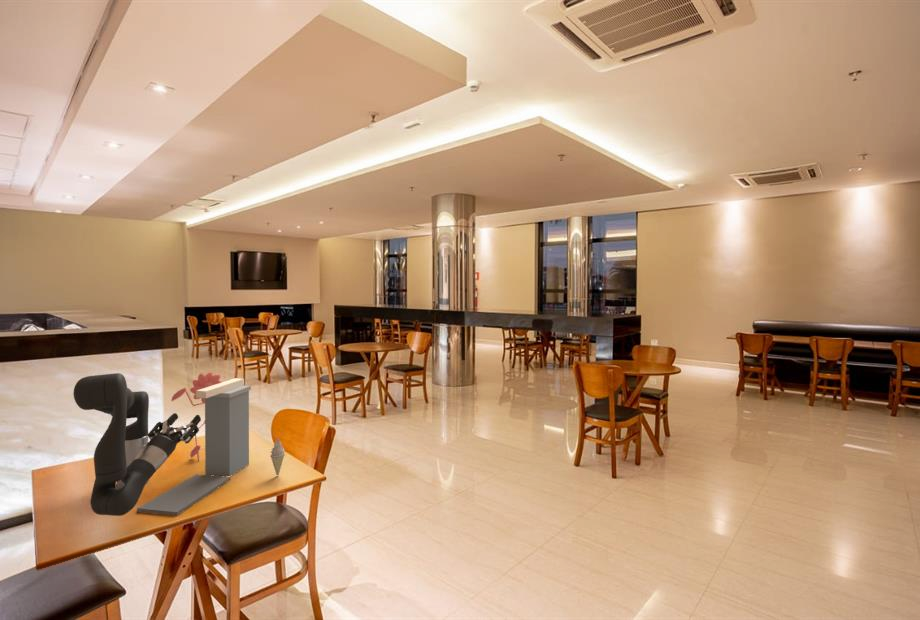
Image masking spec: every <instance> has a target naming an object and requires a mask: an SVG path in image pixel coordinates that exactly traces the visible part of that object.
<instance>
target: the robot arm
mask: <svg viewBox="0 0 920 620" xmlns="http://www.w3.org/2000/svg"><path fill="white" fill-rule="evenodd" d="M72 394H73V399H74V402H75V403H76V406H78V407H79V408H80V409H81V410H84V411H90V410H94V411H98V412H101V413H104V414H107V415H109V416H111V420H110V423H109V425H108V426H107V429H106V430H105V432H104V434H103V435H101V438H100V440H99V441H98V443H97V445H96V447H95V450H94V453H93V465H94V466H93V467H94V475H95V479H94V482H93V486H92V491H91V496H90V501H89V502H90V503H89V504H90V507H91V509H92V512H93V513H94V514H97V515H99V516H116V517H119V516H121V517H122V516H124V515H126V514H128V513H129V512H130V511H132V510H133V509H134V507H135V506H136V505H137V503H138V501H139V499H140V498H141V497H140V496H141V494H142V492H143V491H144V488H145V486H146V484H147V483H148V482H149V480H151V478H152V477H153V475H154V474H155V473H156V472H157V471H158V470H159V469H160V468H161V467H162V466H163V465H164V464H165V462H167V460H168V459H169V457H170V456H171V455H172V454H173V452H174V451H175V450H176V447H177V445H178V443H181V442H184V443H185V444H186V445H187V444H189V443H190V442H191V441H192V440H193V438H195V435H196V436H197V434H198V433H199V432H200V428H199V427H198V425H199V423H201V421H202V419H201V416H200V414H196V415H195V416H194V417H193V419H192V420H191V421H190V423H188V424H185V425H181V426H179V427H173V425H174V423H175V422H176V421H177V420H178V419H179V415H178V414H177V412H174V413H172V414H171V415H170V416H169V417H168V418H167V419H166V420H164V421H159V422H157V423H156V424H155V425H154V426H153V427H152V429H150V431H149V406H150V400H149V399H150V398H149V394H148V392H146V391H145V390H142V391H132V390H131V389H130V388H129V387H128V384H127V380H126V377H125V376H124V375H123V374H122V373H119V372H117V373H105V374H97V375H87V376H84V377H82V378H80V379H79V380H78V381H77V382H76V383H75V386H74V388H73V393H72ZM127 419H136V420H135V421H134V422H131V423H130V424H128V425H127ZM198 428H199V429H198ZM183 431H184V432H183Z"/></svg>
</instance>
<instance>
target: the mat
mask: <svg viewBox="0 0 920 620" xmlns="http://www.w3.org/2000/svg"><path fill="white" fill-rule="evenodd" d="M229 480H230V481H231V477H222V476H211V475H205V474H198V473H195V474H194V475H192V476H191V477H189V478H187V479H185V480H184V481H182V482H180V483H178V484H176V485H175V486H173V487H171V488H169V489H168V490H166V491H164V492H162V493H161V494H159V495H157V496H155V497H154V498H152V499H151V500H149V501H147V502H145V503H144V504H142V505H140V506H138V507H137V508H136V512H137V513H143V512H146V513H145V514H153V513H156V514H155V515H163V514H164V515H165V516H173V515H176V516H175V517H178V516H179V515H181V514H182V513H184V512H185V511H186V509H187V508H188V509H190V508H191V507H193V506H194V505H196V504H197V503H199V502H200V501H202V500H203V499H205V498H206V497H208V496H209V495H211V494H212V493H214V492H215V491H217V490H218V489H219V488H218V487H220V486H221V485H223V484H224V483H226V482H227V481H229ZM230 481H229V482H230ZM227 483H228V482H227ZM227 483H226V484H227ZM224 485H225V484H224ZM224 485H223V486H224ZM221 487H222V486H221ZM221 487H220V488H221ZM217 488H218V489H217ZM216 489H217V490H216ZM214 490H215V491H214ZM213 491H214V492H213ZM211 492H212V493H211ZM210 493H211V494H210ZM208 494H209V495H208ZM207 495H208V496H207ZM205 496H206V497H205ZM204 497H205V498H204ZM202 498H203V499H202ZM201 499H202V500H201ZM199 500H200V501H199ZM198 501H199V502H198ZM196 502H197V503H196ZM195 503H196V504H195ZM193 504H194V505H193ZM192 505H193V506H192ZM190 506H191V507H190ZM189 507H190V508H189ZM188 509H187V510H188ZM183 511H184V512H183ZM180 513H181V514H180ZM177 515H178V516H177Z"/></svg>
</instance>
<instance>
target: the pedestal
mask: <svg viewBox="0 0 920 620" xmlns="http://www.w3.org/2000/svg"><path fill="white" fill-rule="evenodd" d="M251 390H252V387H251V385H243V386H240V387H237V388H234V389H231V390H228V391H226V392H223V393H220V394H217V395H214V396H211V397H209V398H205V403H204V415H205V416H204V421H205V424H204V430H205V431H204V435H205V436H204V438H205V439H204V444H205V445H204V447H205V448H204V452H205V453H204V454H205V455H204V456H205V457H204V458H205V460H204V461H205V462H204V463H205V472H204V475H210V476H211V475H214V476H231V475H232V476H234V475H235V474H237V473H238V472H240V471H241V470H240V469H242V468H243V469H245V468H246V467H248V466H249V465H248V464H250V391H251ZM247 465H248V466H247ZM245 466H246V467H245ZM244 467H245V468H244ZM243 469H242V470H243ZM239 470H240V471H239ZM237 471H238V472H237ZM236 472H237V473H236ZM234 473H235V474H234ZM233 474H234V475H233ZM232 476H231V477H232Z"/></svg>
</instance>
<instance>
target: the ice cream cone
mask: <svg viewBox="0 0 920 620" xmlns="http://www.w3.org/2000/svg"><path fill="white" fill-rule="evenodd" d="M285 452H286V451H285V448H284V446H282V442H281V441H280V439H279V437H277V438H276V440H275V442H274V444H273V448H271V451H270V453H271V454H270V458H271V462H272V465H273V468H274V471H275V474H276V476H277V475H278V476H279V475H280V472H281V468H282V465H283V461H284V457H285V455H286V453H285Z"/></svg>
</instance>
